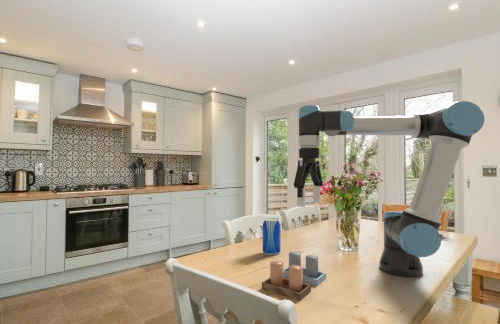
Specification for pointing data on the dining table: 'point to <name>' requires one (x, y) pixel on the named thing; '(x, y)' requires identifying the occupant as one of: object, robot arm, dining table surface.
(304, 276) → the trough
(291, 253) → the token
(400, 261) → the robot arm
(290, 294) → the trough
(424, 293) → the dining table surface
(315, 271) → the cylinder
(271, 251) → the beer can
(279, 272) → the cylinder
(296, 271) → the cylinder
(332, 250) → the dining table surface
